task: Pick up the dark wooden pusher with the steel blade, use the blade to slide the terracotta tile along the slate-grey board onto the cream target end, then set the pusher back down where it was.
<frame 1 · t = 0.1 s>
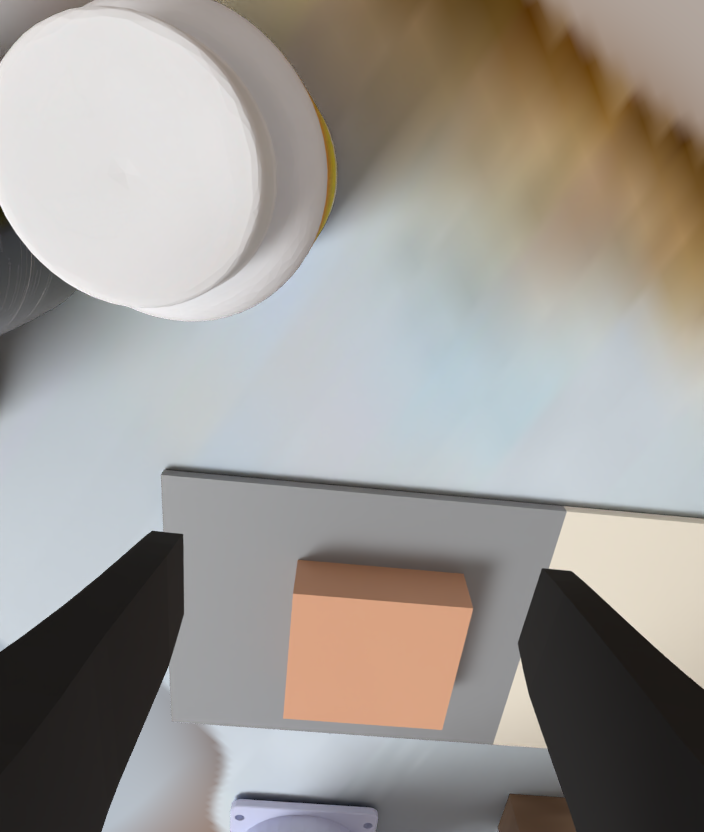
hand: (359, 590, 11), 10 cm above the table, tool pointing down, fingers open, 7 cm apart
supplement bottle: (1, 211, 18), on the table
terracotta tile: (371, 629, 24), resting on board
board: (479, 631, 25), on the table
supplement bottle 2: (250, 172, 17), on the table
pusher: (556, 813, 30), on the table
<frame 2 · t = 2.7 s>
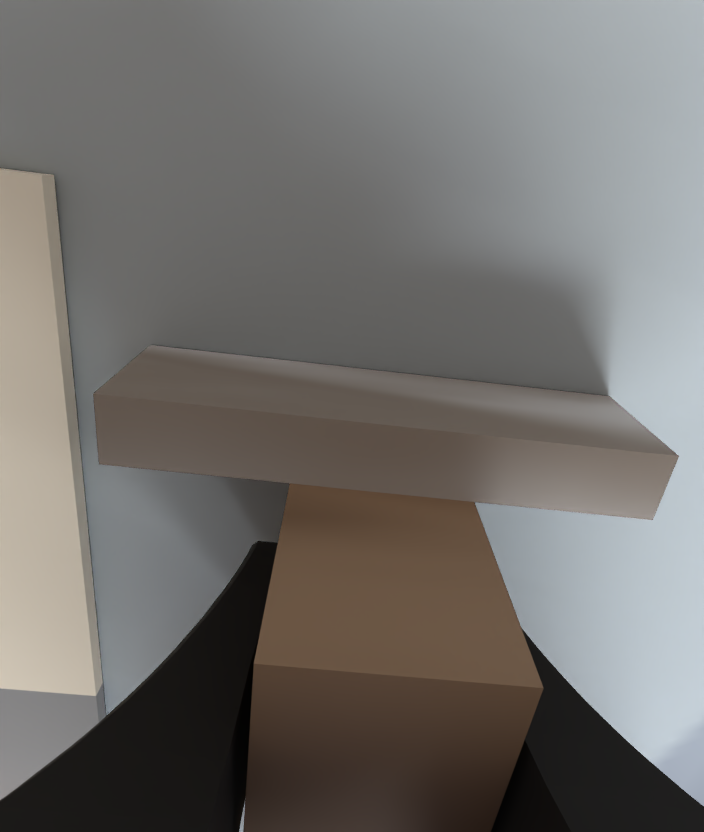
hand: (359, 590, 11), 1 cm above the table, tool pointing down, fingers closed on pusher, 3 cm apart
pusher: (358, 546, 12), on the table, touching gripper
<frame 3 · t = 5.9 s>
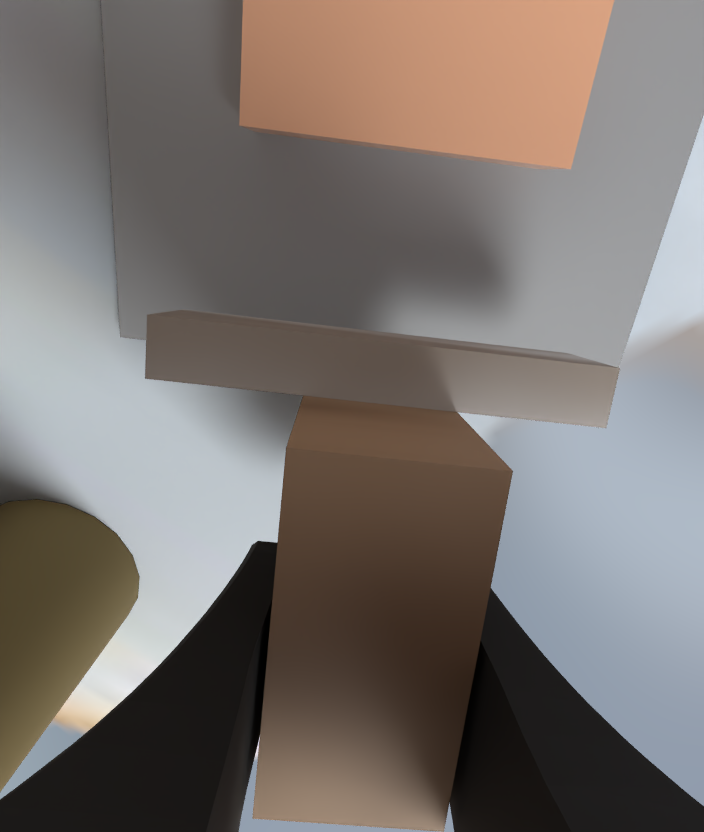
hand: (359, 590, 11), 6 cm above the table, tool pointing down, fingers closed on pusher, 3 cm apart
cork: (55, 568, 19), on the table
pusher: (358, 499, 14), point 3 cm above the table, tilted 11°, touching gripper
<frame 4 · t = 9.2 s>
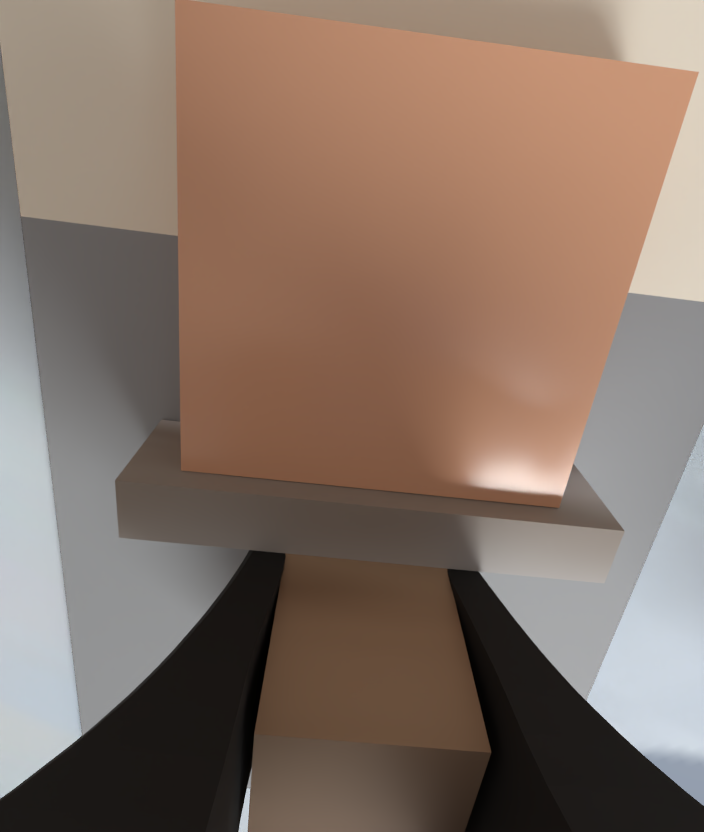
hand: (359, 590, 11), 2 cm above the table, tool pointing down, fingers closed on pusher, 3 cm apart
terracotta tile: (393, 277, 10), resting on board
board: (382, 357, 11), on the table
pusher: (348, 591, 14), resting on board, touching gripper
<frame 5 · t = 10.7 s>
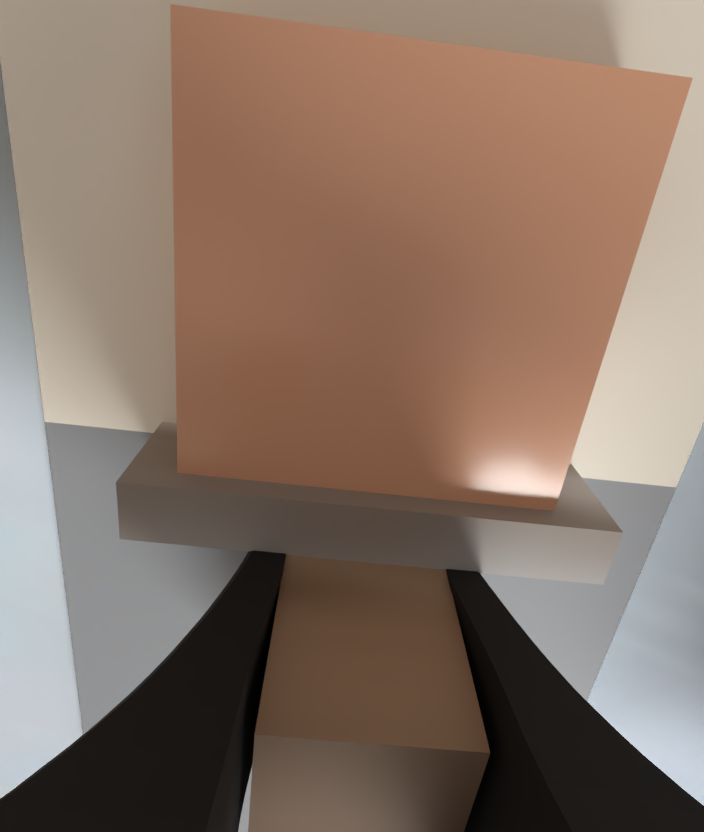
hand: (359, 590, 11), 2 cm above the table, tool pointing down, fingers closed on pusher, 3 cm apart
terracotta tile: (389, 281, 10), resting on board, touching pusher
board: (358, 520, 13), on the table
pusher: (348, 593, 14), resting on board, touching gripper, terracotta tile
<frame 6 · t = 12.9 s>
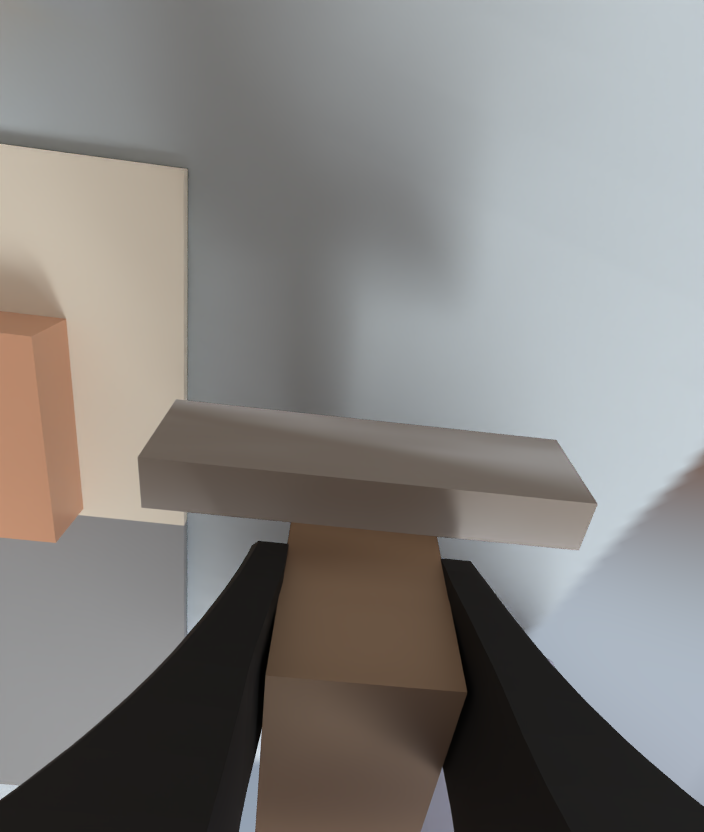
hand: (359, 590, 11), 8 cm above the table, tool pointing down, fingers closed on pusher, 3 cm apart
board: (2, 543, 21), on the table
pusher: (349, 555, 15), point 5 cm above the table, touching gripper
when the fingers open (2 cm above the table, at t = 14.5 s): pusher stays where it is, on the table.
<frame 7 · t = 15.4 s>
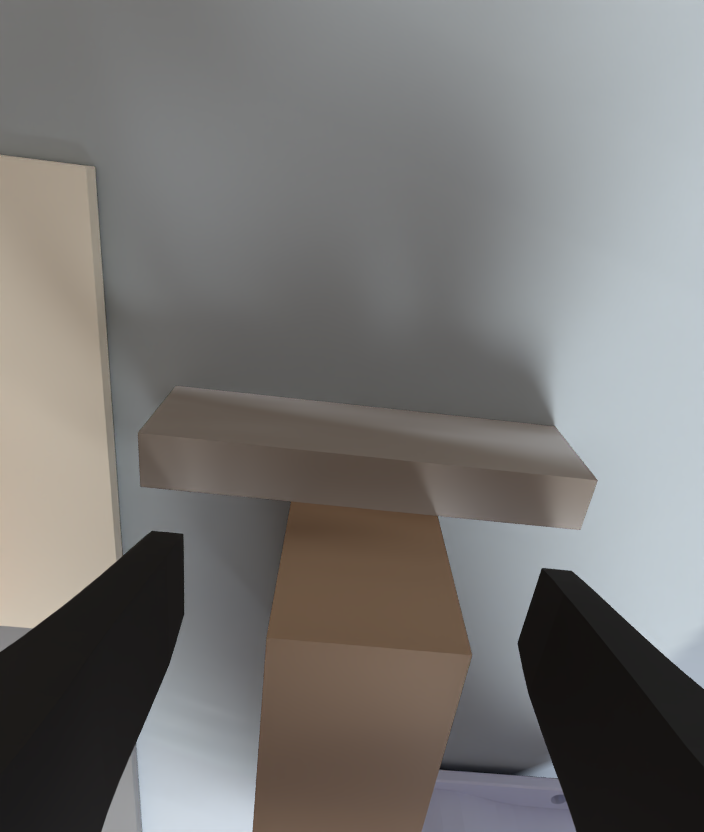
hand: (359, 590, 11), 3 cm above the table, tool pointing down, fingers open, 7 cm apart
pusher: (348, 549, 15), on the table
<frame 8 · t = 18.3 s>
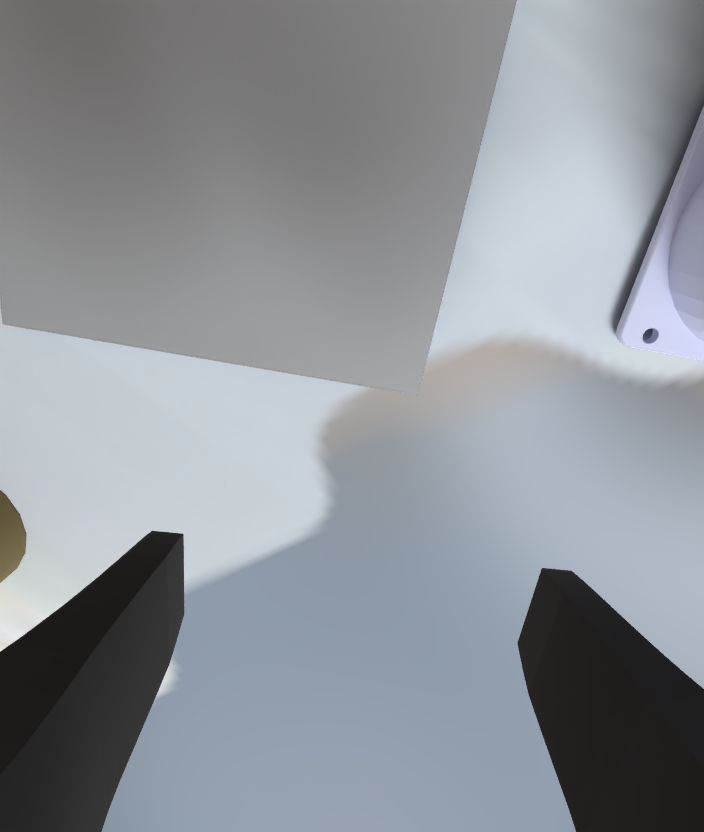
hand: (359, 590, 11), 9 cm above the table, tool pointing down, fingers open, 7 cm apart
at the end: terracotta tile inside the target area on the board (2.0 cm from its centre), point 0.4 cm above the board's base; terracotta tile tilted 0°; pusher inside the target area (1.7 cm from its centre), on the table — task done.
